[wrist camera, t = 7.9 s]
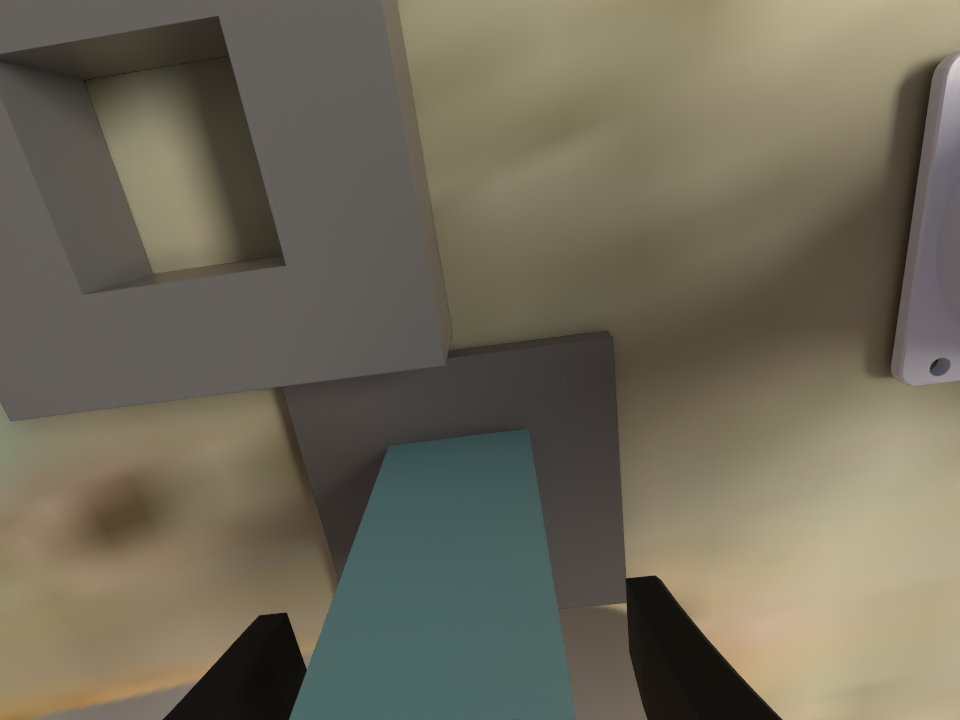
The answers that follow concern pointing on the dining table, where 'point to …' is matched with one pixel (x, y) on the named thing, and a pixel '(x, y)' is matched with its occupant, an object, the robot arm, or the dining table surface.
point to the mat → (474, 411)
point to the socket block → (290, 190)
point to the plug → (445, 595)
